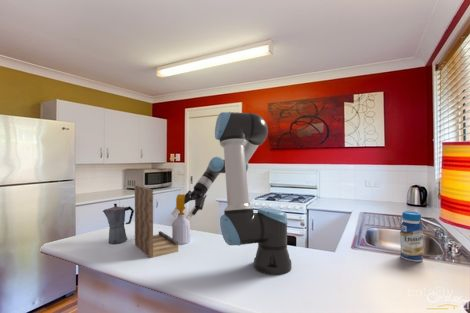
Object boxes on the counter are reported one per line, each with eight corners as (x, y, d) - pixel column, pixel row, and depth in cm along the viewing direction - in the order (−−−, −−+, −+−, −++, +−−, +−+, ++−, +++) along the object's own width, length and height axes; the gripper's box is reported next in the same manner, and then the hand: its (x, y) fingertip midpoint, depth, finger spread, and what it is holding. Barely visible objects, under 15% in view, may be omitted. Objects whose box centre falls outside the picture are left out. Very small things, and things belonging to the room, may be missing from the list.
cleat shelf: (178, 251, 126) (178, 187, 125) (149, 258, 118) (149, 190, 117) (160, 239, 143) (160, 183, 143) (134, 244, 135) (134, 185, 135)
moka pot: (104, 239, 143) (103, 202, 143) (134, 237, 148) (134, 201, 148) (100, 245, 134) (100, 205, 134) (133, 242, 139) (133, 204, 139)
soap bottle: (191, 239, 144) (190, 193, 144) (188, 244, 135) (188, 196, 135) (174, 239, 144) (174, 193, 144) (170, 244, 135) (170, 196, 135)
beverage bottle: (418, 255, 119) (418, 211, 119) (426, 263, 111) (426, 215, 111) (397, 254, 122) (397, 210, 121) (403, 261, 113) (403, 214, 113)
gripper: (221, 192, 144) (199, 225, 133) (192, 188, 161) (171, 217, 150) (213, 183, 140) (190, 216, 129) (185, 180, 157) (163, 209, 147)
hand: (180, 217), depth 140 cm, fingers open, 13 cm apart
